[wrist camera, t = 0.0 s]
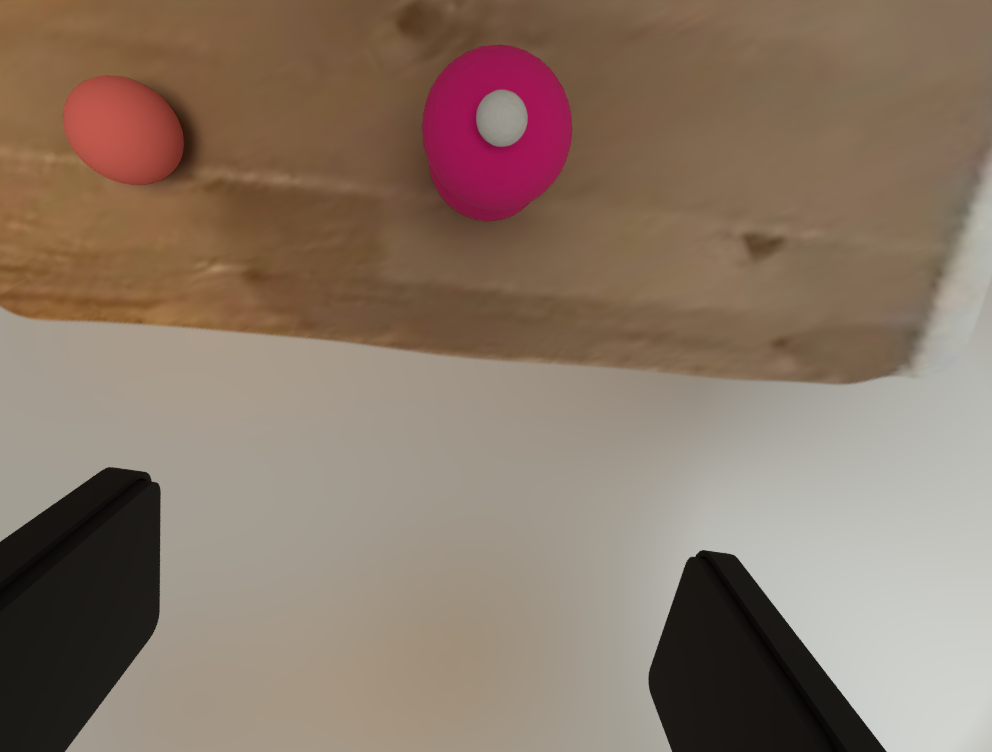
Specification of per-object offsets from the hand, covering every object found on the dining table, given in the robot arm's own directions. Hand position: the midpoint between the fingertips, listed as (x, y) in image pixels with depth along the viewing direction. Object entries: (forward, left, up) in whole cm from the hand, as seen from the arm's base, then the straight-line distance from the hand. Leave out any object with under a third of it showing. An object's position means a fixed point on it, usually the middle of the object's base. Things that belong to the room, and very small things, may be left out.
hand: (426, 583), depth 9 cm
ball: (+9, -21, -28) cm, 36 cm away
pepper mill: (-7, -6, -31) cm, 33 cm away
